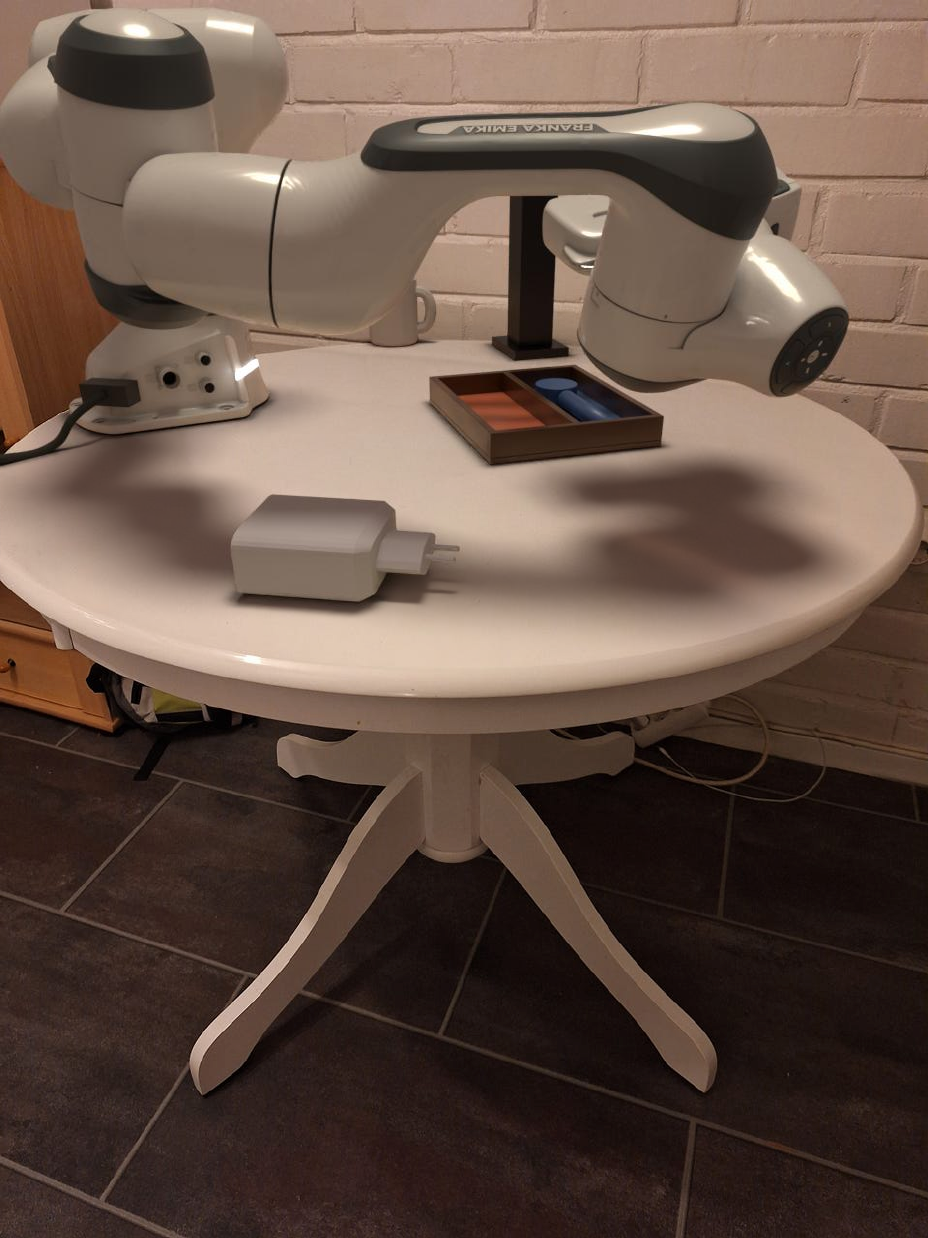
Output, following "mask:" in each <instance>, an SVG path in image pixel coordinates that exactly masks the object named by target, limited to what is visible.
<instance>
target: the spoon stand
mask: <svg viewBox="0 0 928 1238" xmlns="http://www.w3.org/2000/svg"><path fill="white" fill-rule="evenodd" d="M555 198H559V195H556V196H509V214H508V215H509V217H508V218H509V219H508V221H509V222H508V274H507V275H508V276H507V277H508V279H507V282H508V283H507V334H506V335H497V336H495V335H494V336H492V337H491V346H493V347H494V348H496V349H497V350H499V351H501V352H502V353H503V354H505V355H506V356H507V357H509V358H511V359H512V360H514V361H524V360H535V359H549V358H560V357H561V358H562V357H569V355H570V347H569V346H567V345H565V344H564V343H562V342H560V341H558V340H556V339H555V338H554V337H553V333H554V332H553V331H554V310H555V309H554V308H555V307H554V306H555V285H556V284H555V282H556V262H557V261H556V260H557V259H556V258H557V257H556V256H555V255H554V254H553V253H552V252H551V251H550V250H549V249H548V248H547V247H546V245H545V244H544V240H543V213H544V209H545V207H546V205H547V203H548V202H549V201H550V200H552V199H555Z"/></svg>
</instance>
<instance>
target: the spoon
mask: <svg viewBox="0 0 928 1238" xmlns="http://www.w3.org/2000/svg"><path fill="white" fill-rule="evenodd" d="M577 387H578V384H577V383H576V382H575V381H572V380H568V379H560V378H550V379H543V380H539V381H537V382H536V384H535V391H537V392H538V393H540V394H541V395H542V396H544V397H545V398H547V399H548V400H549V401H551V402H552V403H554V404H555V405H557V406H561V407H562V408H564V409H565V410H566V411H568V412H569V413H571V414H572V415H574V416H575V417H576V418H578V419H579V420H581V421H582V422H587V421H597V420H607V419H613V418H612V417H610V416H608V415H607V414H605V413H604V412H602V411H601V410H599V409H598V408H596V407H595V406H593V405H592V404H590V403H588V402H587V401H585V400H584V399H582V398H581V397H579V396H578V395H577Z"/></svg>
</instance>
